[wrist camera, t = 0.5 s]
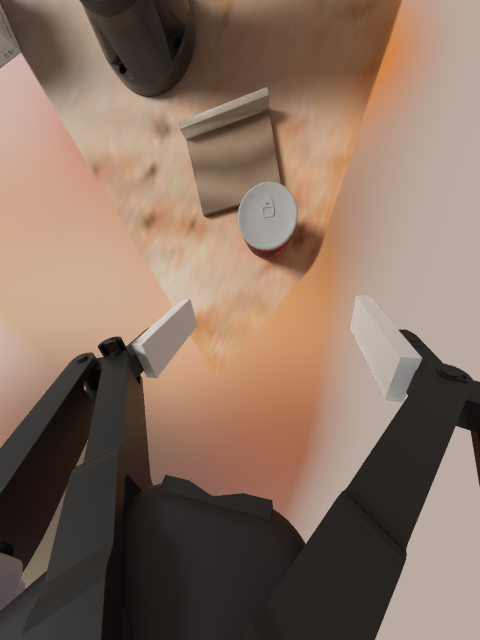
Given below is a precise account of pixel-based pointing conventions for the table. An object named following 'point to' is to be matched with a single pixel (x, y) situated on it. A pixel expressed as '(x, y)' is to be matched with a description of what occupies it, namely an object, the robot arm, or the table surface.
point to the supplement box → (7, 40)
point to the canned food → (267, 218)
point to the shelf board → (231, 150)
